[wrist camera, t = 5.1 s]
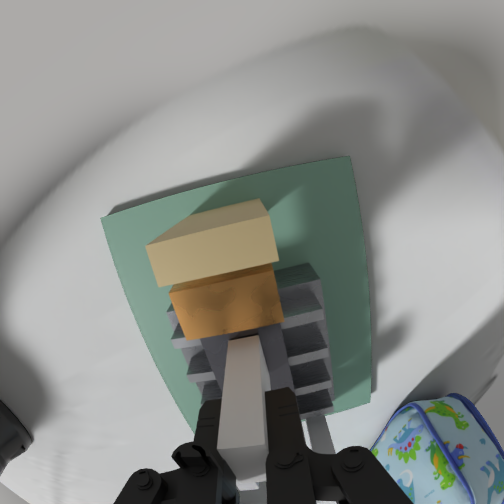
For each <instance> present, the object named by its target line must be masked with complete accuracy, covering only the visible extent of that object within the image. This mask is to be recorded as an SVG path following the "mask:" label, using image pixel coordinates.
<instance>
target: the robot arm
mask: <svg viewBox="0 0 504 504" xmlns="http://www.w3.org/2000/svg"><path fill="white" fill-rule="evenodd" d="M196 427H197V428H196V431H195V436H194V442H189V443H185V444H183V445H181V446H179V447H178V448H177V449H176V450H175V451H174V452H173V454H172V456H171V457H172V458H173V460H174V461H175V462H176V463H177V464H178V465H179V467H180V468H179V469H176V470H173V471H169V472H165V473H161V474H159V473H158V472H156V471H154V470H153V469H147V468H145V469H140V470H138V471H136V472H134V473H133V474H132V475H131V477H130V478H129V480H128V481H127V483H126V484H125V486H124V488H123V489H122V491H121V492H120V494H119V496H118V497H117V499H116V501H115V502H114V504H239V497H240V496H239V492H238V490H237V489H236V479H237V481H238V482H239V483H240V484H242V483H253V482H262V481H266V486H267V504H316V500H318V501H336V502H337V504H414V503H413V502H412V501H411V500H410V499H409V497H408V496H407V495H406V494H405V493H404V491H403V490H402V489H401V488H400V487H399V485H398V484H397V483H396V482H395V480H394V479H393V478H392V477H391V475H390V474H389V473H388V472H387V471H386V469H385V468H384V467H383V466H382V464H381V463H380V462H379V461H378V459H377V458H376V457H375V456H374V454H373V453H372V452H371V451H370V450H368V449H367V448H364V447H361V446H351V447H348V448H345V449H343V450H341V451H340V452H338V453H337V454H321V453H317V452H314V451H312V450H311V449H309V448H308V447H307V445H306V444H305V440H304V435H303V429H302V424H301V419H300V414H299V409H298V405H297V400H296V395H295V393H294V392H293V391H292V390H291V389H290V388H289V387H285V388H280V389H275V390H271V385H270V375H269V372H268V368H267V365H266V361H265V357H264V354H263V350H262V346H261V343H260V339H259V335H256V336H251V337H246V338H240V339H235V340H230V341H228V349H227V358H226V367H225V376H224V385H223V394H222V399H216V400H207V401H205V402H204V404H203V405H202V406H201V408H200V409H199V415H198V421H197V425H196ZM30 445H31V438H30V436H29V434H28V433H27V431H26V430H25V428H24V427H23V426H22V424H21V423H20V422H19V421H18V419H17V418H16V417H15V416H14V415H13V414H12V413H11V411H10V410H9V409H8V408H7V407H6V406H5V405H4V404H3V403H2V402H1V401H0V476H1V474H2V472H3V471H4V469H5V467H6V466H7V464H8V463H9V462H10V461H11V460H13V459H14V458H16V457H17V456H19V455H21V454H22V453H24V452H25V451H27V449H28V448H29V446H30Z"/></svg>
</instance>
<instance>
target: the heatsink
mask: <svg viewBox="0 0 504 504" xmlns="http://www.w3.org/2000/svg"><path fill="white" fill-rule="evenodd" d="M274 275H275V280H276V284H277V289H278V294H279V298H280V303H281V307H282V312H283V317H284V322H281V323H280V325H281V329H282V334H283V338H284V343H285V347H286V352H287V357H288V361H289V366H290V371H291V375H292V380H293V385H294V389H295V394H296V399H297V403H298V408H299V413H300V418H301V420H304V419H308V418H312V417H316V416H320V415H324V414H328V413H332V412H334V406H333V403H332V401H335V396H334V384H333V374H332V364H331V354H330V345H329V337H328V329H327V321H326V313H325V306H324V299H323V292H322V286H321V279H320V278H319V276H318V275H317V273H316V272H315V270H314V269H313V268H312V266H311V265H310V263H304V264H300V265H296V266H292V267H287V268H283V269H279V270H274ZM166 313H167V316H168V319H169V321H170V324H171V326H172V329H173V331H174V333H173V336H172V338H171V342H172V344H173V346H174V349H179V348H181V351H182V353H183V355H184V358H185V360H186V362H187V365H188V371H187V374H186V375H187V378H188V380H189V382H190V383H193V382H196V384H197V387H198V389H199V391H200V393H201V395H202V399H201V406H202V405H203V404H204V402H205V401H207V400H216V399H222V391H221V389H220V387H219V385H218V382H217V380H216V378H215V375H214V373H213V370H212V368H211V366H210V363H209V361H208V358H207V356H206V353H205V351H204V348H203V346H202V343H201V341H200V339H194V340H186V338H185V335H184V333H183V330H182V328H181V325H180V323H179V320H178V318H177V315H176V312H175V310H174V307H173V304H172V303H171V305H170V306H169V308H168V310H167V312H166Z"/></svg>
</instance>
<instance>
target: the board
mask: <svg viewBox="0 0 504 504" xmlns="http://www.w3.org/2000/svg"><path fill="white" fill-rule="evenodd" d="M101 222H102V225H103V229H104V232H105V236H106V239H107V242H108V246H109V249H110V252H111V255H112V258H113V261H114V264H115V267H116V270H117V273H118V276H119V278H120V281H121V284H122V287H123V289H124V292H125V295H126V297H127V300H128V302H129V305H130V307H131V310H132V312H133V315H134V317H135V320H136V322H137V324H138V327H139V329H140V331H141V334H142V336H143V338H144V340H145V343H146V345H147V347H148V349H149V351H150V353H151V356H152V358H153V360H154V362H155V364H156V366H157V368H158V370H159V372H160V374H161V376H162V378H163V380H164V382H165V384H166V385H167V387H168V389H169V391H170V393H171V395H172V397H173V398H174V400H175V402H176V404H177V406H178V407H179V409H180V411H181V413H182V414H183V416H184V418H185V419H186V421H187V423H188V424H189V426H190V428H191V429H192V431H193V433H194V434H195V431H196V428H197V427H196V425H197V421H198V415H199V409H200V408H201V399H202V395H201V393H200V391H199V389H198V387H197V384H196V382H193V383H190V382H189V380H188V378H187V375H186V374H187V371H188V365H187V362H186V360H185V358H184V355H183V353H182V351H181V348H179V349H174V346H173V344H172V342H171V338H172V336H173V333H174V331H173V329H172V326H171V324H170V321H169V319H168V316H167V313H166V312H167V310H168V308H169V306H170V305H171V303H172V302H171V299H170V296H169V294H168V293H169V291H170V290H171V288H172V286H173V285H174V284H177V283H182V282H187V281H191V280H196V279H200V278H205V277H209V276H214V275H219V274H223V273H228V272H232V271H236V270H241V269H245V268H250V267H254V266H259V265H263V264H267V263H272V267H273V271H274V270H279V269H283V268H287V267H292V266H296V265H300V264H304V263H310V265H311V266H312V268H313V269H314V270H315V272H316V273H317V275H318V276H319V278H320V279H321V286H322V292H323V299H324V306H325V313H326V321H327V329H328V337H329V345H330V354H331V364H332V374H333V384H334V396H335V401H332V403H333V406H334V412H332V413H328V414H324V415H320V416H316V417H312V418H308V419H304V420H301V422H302V421H306V425H307V430H308V434H309V439H310V444H311V448H312V451H314V452H317V453H321V454H336V453H335V450H334V446H333V443H332V439H331V436H330V432H329V429H328V426H327V422H326V419H325V416H327V415H330V414H334V413H338V412H341V411H345V410H348V409H351V408H354V407H358V406H361V405H364V404H367V403H370V398H371V317H370V299H369V285H368V273H367V262H366V253H365V244H364V236H363V229H362V222H361V215H360V208H359V202H358V196H357V191H356V185H355V180H354V174H353V169H352V164H351V160H350V156H345V157H339V158H333V159H327V160H321V161H315V162H310V163H305V164H299V165H294V166H289V167H284V168H280V169H275V170H270V171H265V172H261V173H256V174H252V175H248V176H243V177H239V178H235V179H231V180H227V181H223V182H219V183H215V184H211V185H207V186H203V187H200V188H196V189H192V190H189V191H185V192H182V193H178V194H175V195H171V196H168V197H164V198H161V199H158V200H154V201H151V202H148V203H145V204H141V205H138V206H135V207H132V208H129V209H126V210H123V211H120V212H117V213H114V214H111V215H108V216H105V217H102V218H101ZM236 486H237V487H238V489H239V490H240V491H243V490H254V489H259V482H253V483H242V484H240V483H239V482H238V481H237V479H236Z"/></svg>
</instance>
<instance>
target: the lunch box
mask: <svg viewBox="0 0 504 504" xmlns="http://www.w3.org/2000/svg"><path fill="white" fill-rule="evenodd" d="M370 451H371V452H372V453H373V454H374V456H375V457H376V458H377V459H378V461H379V462H380V463H381V464H382V466H383V467H384V468H385V469H386V471H387V472H388V473H389V474H390V475H391V477H392V478H393V479H394V480H395V482H396V483H397V484H398V485H399V487H400V488H401V489H402V490H403V491H404V493H405V494H406V495H407V496H408V497H409V499H410V500H411V501H412V502H413V503H414V504H504V452H503V450H502V448H501V446H500V444H499V442H498V440H497V439H496V437H495V435H494V434H493V432H492V430H491V429H490V427H489V426H488V424H487V422H486V421H485V420H484V418H483V417H482V415H481V414H480V412H479V411H478V410H477V408H476V407H475V406H474V404H473V403H472V402H471V401H470V400H468V399H467V398H466V397H464V396H462V395H460V394H457V393H451V394H448V395H447V396H445V397H443V398H439V399H433V400H422V401H414V402H410V403H408V404H406V405H405V406H403V407H402V408H400V409H399V410H398V411H397V412H396V413H395V414H394V415H393V416H392V418H391V419H390V421H389V422H388V424H387V425H386V427H385V429H384V430H383V432H382V433H381V435H380V437H379V438H378V440H377V441H376V443H375V444H374V446H373V447H372V448H371V450H370Z"/></svg>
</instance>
